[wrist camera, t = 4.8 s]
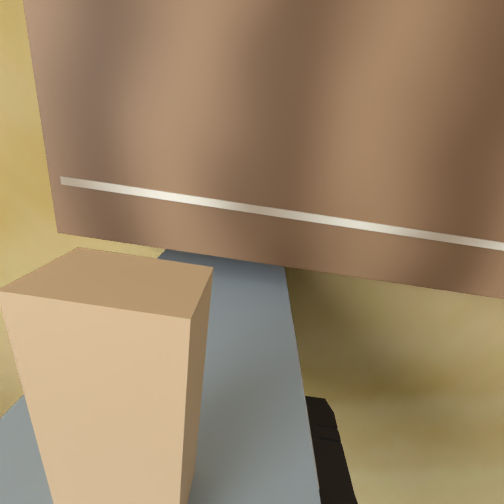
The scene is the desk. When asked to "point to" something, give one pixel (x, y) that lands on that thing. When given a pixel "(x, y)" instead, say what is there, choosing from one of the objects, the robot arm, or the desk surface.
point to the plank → (282, 131)
